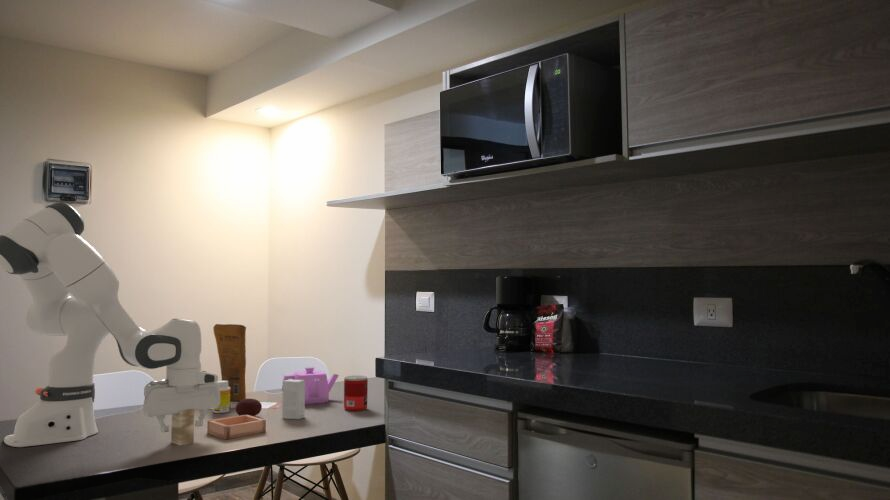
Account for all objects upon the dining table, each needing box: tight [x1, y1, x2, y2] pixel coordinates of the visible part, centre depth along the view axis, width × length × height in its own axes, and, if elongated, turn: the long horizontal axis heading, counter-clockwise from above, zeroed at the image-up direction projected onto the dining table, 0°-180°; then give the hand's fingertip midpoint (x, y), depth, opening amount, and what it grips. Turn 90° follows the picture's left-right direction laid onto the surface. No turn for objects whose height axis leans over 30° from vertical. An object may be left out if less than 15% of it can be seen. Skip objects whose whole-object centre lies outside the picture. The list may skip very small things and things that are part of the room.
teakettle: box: [281, 366, 339, 405], centre depth 239 cm, size 17×17×12 cm
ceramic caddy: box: [206, 415, 267, 440], centre depth 188 cm, size 12×11×4 cm
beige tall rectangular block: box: [170, 409, 195, 446], centre depth 177 cm, size 4×5×9 cm
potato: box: [235, 398, 263, 417], centre depth 209 cm, size 7×8×6 cm
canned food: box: [343, 375, 369, 412], centre depth 223 cm, size 8×8×11 cm
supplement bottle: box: [212, 380, 231, 414], centre depth 218 cm, size 6×6×10 cm
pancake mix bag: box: [212, 323, 247, 402], centre depth 242 cm, size 7×19×28 cm, turn 48°
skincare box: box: [281, 379, 306, 420], centre depth 209 cm, size 6×4×12 cm
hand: (182, 428), depth 177 cm, fingers open, 8 cm apart
